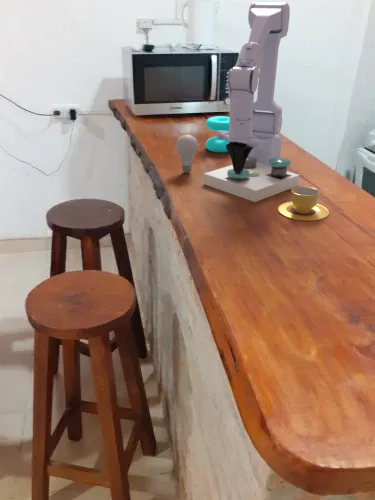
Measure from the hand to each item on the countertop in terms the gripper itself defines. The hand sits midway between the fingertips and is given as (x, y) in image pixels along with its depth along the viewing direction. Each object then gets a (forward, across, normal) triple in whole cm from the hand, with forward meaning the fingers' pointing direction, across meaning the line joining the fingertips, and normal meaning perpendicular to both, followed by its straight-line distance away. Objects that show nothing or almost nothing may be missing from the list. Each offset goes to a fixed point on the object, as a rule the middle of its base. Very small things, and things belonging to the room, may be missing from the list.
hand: (238, 171), depth 132 cm
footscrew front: (+5, 0, 0) cm, 5 cm away
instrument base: (+5, 0, +6) cm, 7 cm away
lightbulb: (+5, -19, 0) cm, 20 cm away
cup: (+6, +20, 0) cm, 21 cm away
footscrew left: (+3, +6, +10) cm, 12 cm away
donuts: (+5, -30, +25) cm, 39 cm away
